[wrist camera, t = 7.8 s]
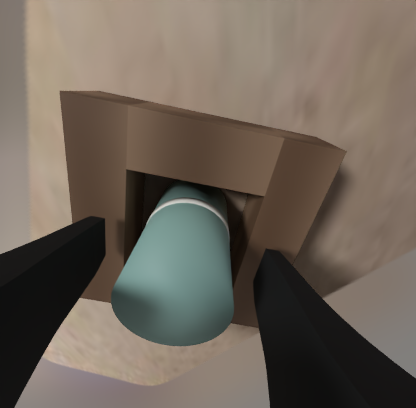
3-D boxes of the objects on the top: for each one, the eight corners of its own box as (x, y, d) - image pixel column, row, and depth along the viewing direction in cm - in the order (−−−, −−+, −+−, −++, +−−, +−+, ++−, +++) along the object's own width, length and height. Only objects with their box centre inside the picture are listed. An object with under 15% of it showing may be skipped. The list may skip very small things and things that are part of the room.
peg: (234, 183, 13) (249, 273, 6) (219, 241, 15) (220, 353, 8) (163, 170, 13) (109, 249, 6) (157, 229, 14) (110, 336, 8)
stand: (316, 137, 11) (346, 151, 9) (254, 289, 16) (262, 328, 14) (99, 90, 11) (59, 90, 8) (103, 262, 16) (79, 297, 13)
